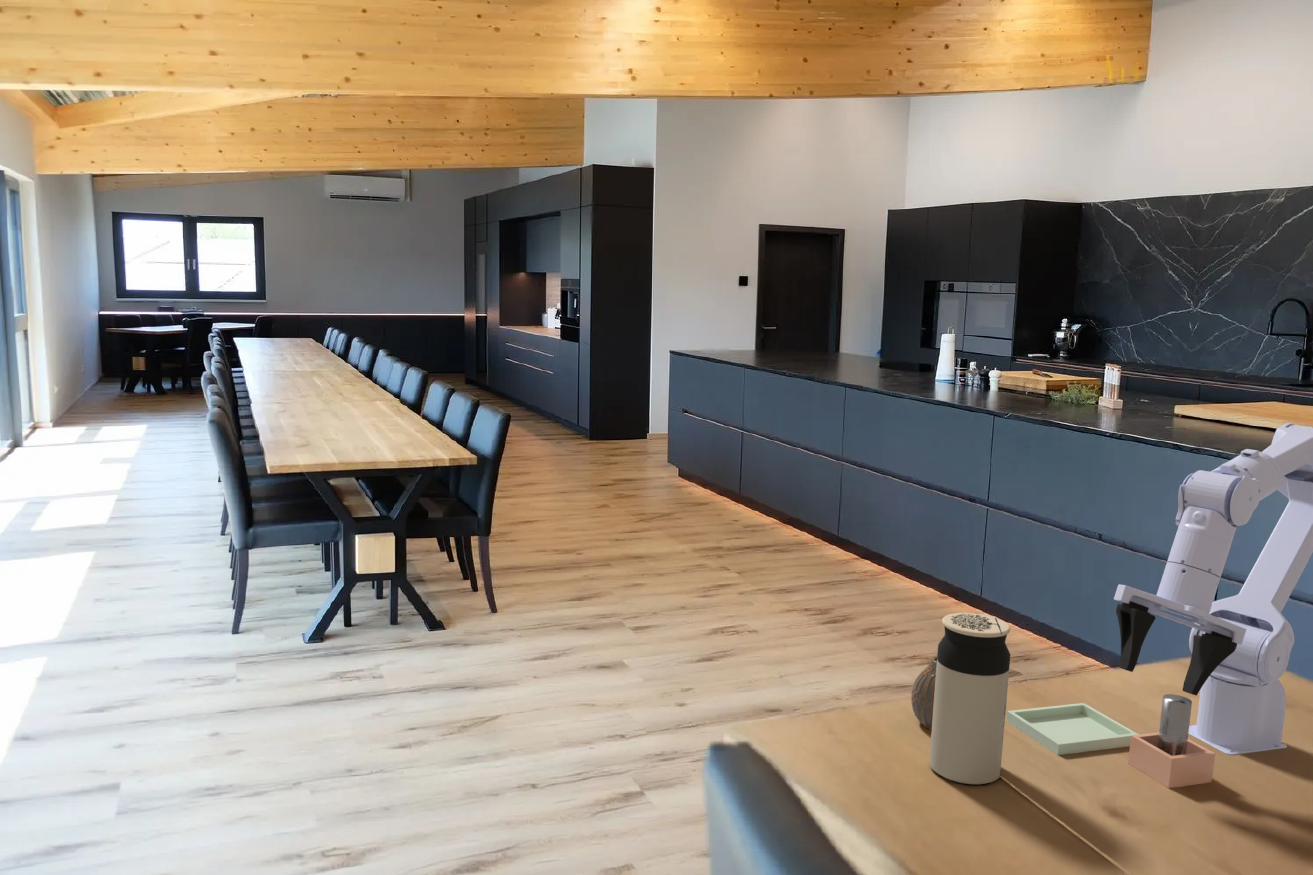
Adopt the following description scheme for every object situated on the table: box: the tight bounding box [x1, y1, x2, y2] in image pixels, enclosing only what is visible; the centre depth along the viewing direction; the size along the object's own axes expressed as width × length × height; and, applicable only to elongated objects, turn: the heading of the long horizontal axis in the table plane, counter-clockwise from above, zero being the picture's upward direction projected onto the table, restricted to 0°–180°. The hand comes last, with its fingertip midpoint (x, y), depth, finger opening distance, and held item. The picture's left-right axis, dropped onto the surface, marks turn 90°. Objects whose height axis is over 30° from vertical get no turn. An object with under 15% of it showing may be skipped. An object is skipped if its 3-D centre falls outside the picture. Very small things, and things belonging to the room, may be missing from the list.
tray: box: [1005, 702, 1140, 756], centre depth 127 cm, size 12×10×2 cm
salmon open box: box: [1127, 731, 1216, 789], centre depth 117 cm, size 6×6×4 cm
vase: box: [911, 656, 937, 730], centre depth 129 cm, size 7×7×9 cm
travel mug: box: [928, 612, 1011, 786], centre depth 116 cm, size 8×8×18 cm
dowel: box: [1157, 693, 1193, 756], centre depth 117 cm, size 3×3×9 cm
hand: (1157, 681), depth 116 cm, fingers open, 7 cm apart
